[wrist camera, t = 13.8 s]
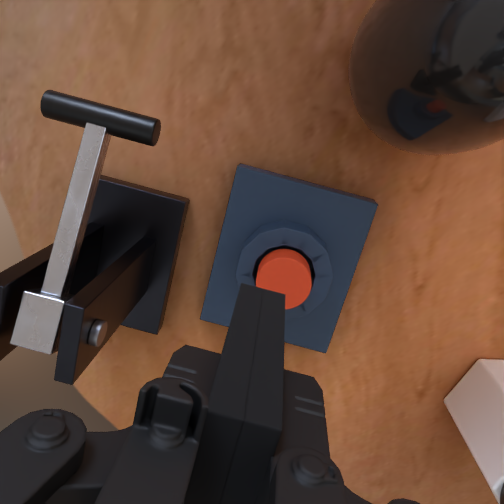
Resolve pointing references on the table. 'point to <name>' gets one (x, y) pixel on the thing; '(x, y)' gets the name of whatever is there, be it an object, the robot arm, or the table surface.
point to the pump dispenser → (431, 74)
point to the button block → (289, 247)
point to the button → (285, 276)
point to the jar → (482, 419)
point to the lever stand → (106, 273)
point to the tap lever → (74, 210)
